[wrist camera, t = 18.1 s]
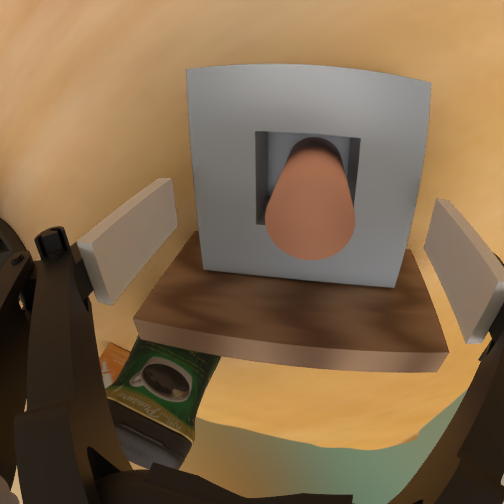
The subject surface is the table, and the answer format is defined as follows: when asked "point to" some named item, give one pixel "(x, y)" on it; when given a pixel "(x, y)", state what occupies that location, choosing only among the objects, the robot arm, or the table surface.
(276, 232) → the dowel
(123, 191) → the table surface
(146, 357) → the coffee jar
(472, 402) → the robot arm
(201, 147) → the socket block
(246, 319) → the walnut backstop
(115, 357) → the small box
